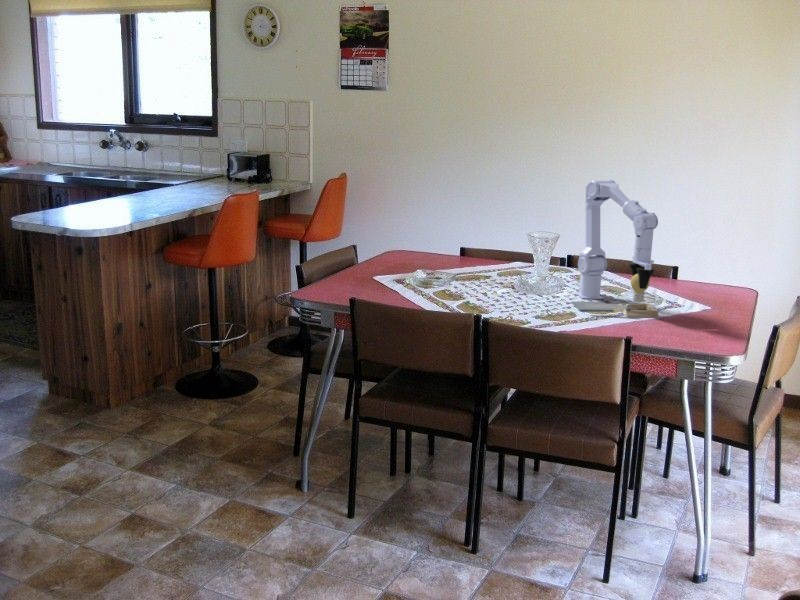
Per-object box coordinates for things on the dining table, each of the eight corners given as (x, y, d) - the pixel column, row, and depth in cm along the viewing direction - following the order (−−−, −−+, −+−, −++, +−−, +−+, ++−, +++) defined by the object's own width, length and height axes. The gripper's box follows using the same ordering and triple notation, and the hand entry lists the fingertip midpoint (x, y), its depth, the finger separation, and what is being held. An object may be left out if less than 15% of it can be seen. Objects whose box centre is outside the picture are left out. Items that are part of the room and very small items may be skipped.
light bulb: (651, 302, 295) (654, 274, 293) (638, 303, 292) (641, 275, 290) (637, 299, 301) (640, 271, 299) (624, 300, 297) (627, 272, 296)
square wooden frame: (617, 308, 303) (617, 303, 302) (647, 309, 303) (648, 303, 303) (626, 316, 292) (627, 310, 291) (657, 316, 292) (658, 311, 292)
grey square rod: (585, 307, 293) (585, 302, 293) (585, 306, 295) (585, 301, 294) (631, 310, 291) (631, 305, 290) (630, 309, 293) (630, 304, 292)
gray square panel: (571, 302, 310) (571, 301, 310) (604, 303, 311) (604, 302, 311) (579, 310, 299) (579, 309, 298) (613, 311, 299) (613, 309, 299)
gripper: (661, 251, 285) (657, 291, 288) (647, 244, 299) (644, 282, 302) (641, 251, 285) (637, 290, 288) (628, 244, 299) (624, 281, 302)
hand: (639, 286), depth 295 cm, fingers closed on light bulb, 6 cm apart
